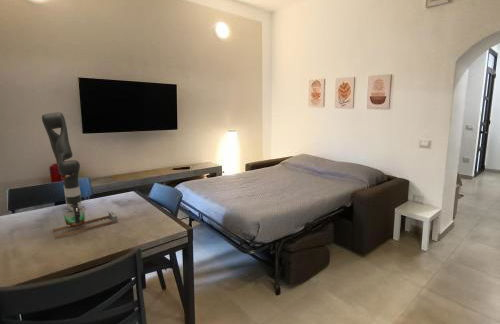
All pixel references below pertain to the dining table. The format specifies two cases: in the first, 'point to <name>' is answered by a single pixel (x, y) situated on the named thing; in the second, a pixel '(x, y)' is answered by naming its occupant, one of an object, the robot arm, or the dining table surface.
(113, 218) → the guide channel
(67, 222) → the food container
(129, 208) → the dining table surface
